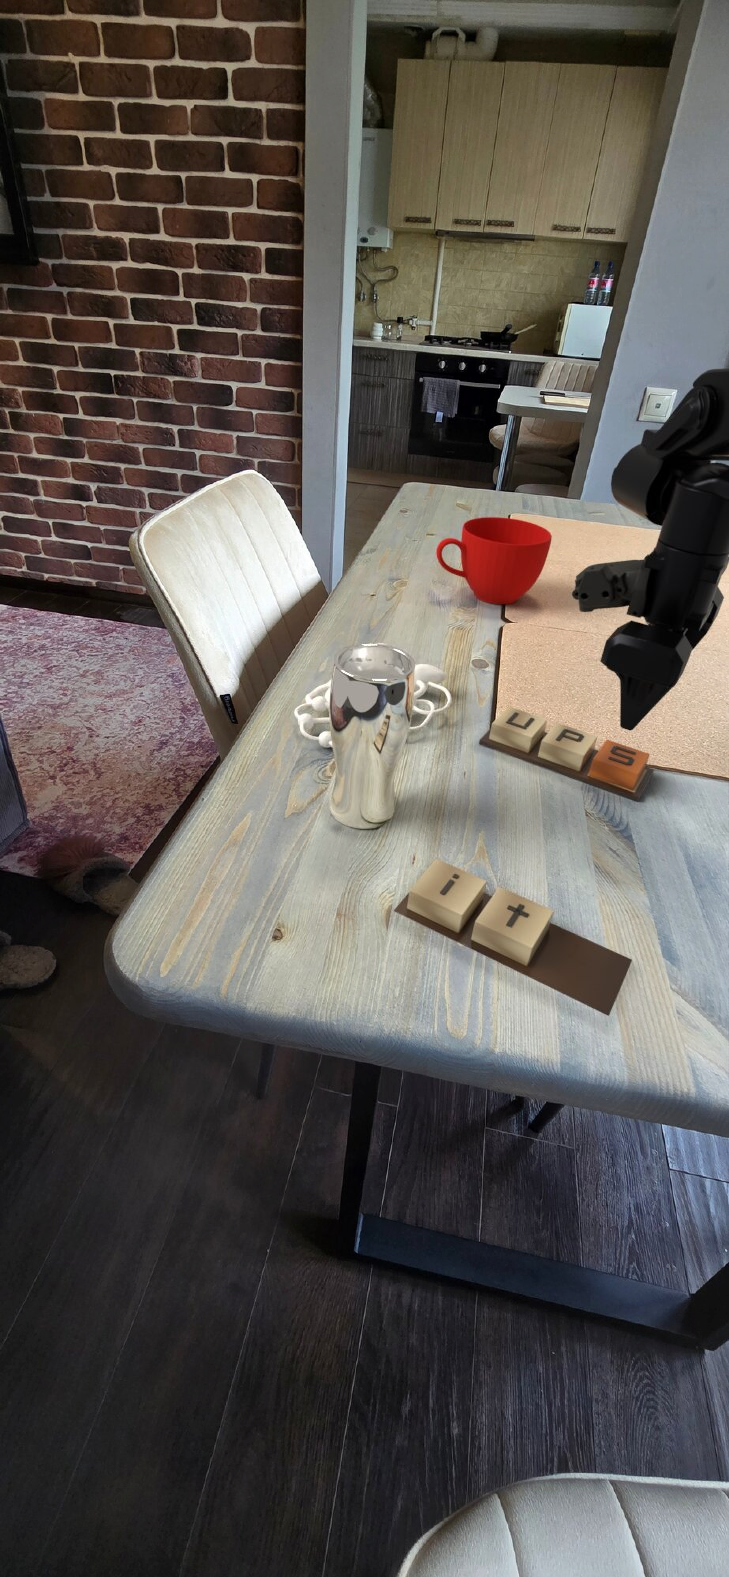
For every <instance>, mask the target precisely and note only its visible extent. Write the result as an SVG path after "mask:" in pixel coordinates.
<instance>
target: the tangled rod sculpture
mask: <svg viewBox="0 0 729 1577" xmlns="http://www.w3.org/2000/svg"><path fill="white" fill-rule="evenodd" d="M375 644H382V645H387V644H386V643H383V642H376V643H375ZM446 679H447V674H446V672H445V671H444V670H441V669H440V668H438V667H436V666H434V665H432V664H428V663H420V664H419V663H418V664H416V663H415V674H414V701H413V711H412V715H413V714H414V713H417V714H420V715H424V716H426V717H425V719H424V721H423V722H422V723H421V724H419V725H417V726H410V728H409V732H418V731H421V730H423V729H424V728H425V727H426V726H427V725H428V724H429V722H430V721H431V719H432V718H433V716H434V715H438V714H442V713H444V712H447V711H448V709H449V708H450V707H451V705H452V700H453V699H452V695H451V693H450V691H449V690H448V689H447V687H445V686H443V685H440V684H442V683H443V682H445V680H446ZM331 681H332V678H331V679H330V680H329V681H327V683H324V684H321V685H319V686H317V687H315V688H314V689H313V690H312V691H311V692H308V693H307V694H306V695H305V699H304V700H305V703H302V704H300V705H299V706H297V707H295V709H294V712H293V713H294V717H295V718H296V719H297V724H298V727H299V731H300V733H301V735H302V736H303V737H304V738H306V739H309V740H311V741H315V742H318V744H319V745H320V746H321V747H322V748H324V749H325V748H326V749H329V748H332V749H333V747H332V740H331V733H330V730H329V731H328V730H325V731H322V732H320V734H319V736H314V735H311V734H309V733H307V732H306V731H305V730H310V729H312V728H313V727H314V725H315V724H330V722H329V716H328V717H313V715H312V714H310V713H308V712H306V713H305V712H304V713H301V714H299V712H300V711H302V710H303V709H305V708H307V707H312V708H313V710H314V711H316V712H318V713H321V712H322V713H323V712H324V711H326V710H327V711H328V712H329V701H330V689H331ZM430 687H431V688H434V689H437V690H440V691H442V692H443V693H444V694H445V696H446V697H447V702H446V704H445V705H444V706H443V707H440V708H437V709H436V707H435V704H434V703H433V702H432V701H430V700H428V699H419V698H420V697H422V696H424V694H426V691H427V689H428V688H430ZM322 692H325V694H324V696H323V695H320V694H321V693H322ZM421 704H423V705H427V706H428V707H430V710H425V709H421V708H419V707H417V706H418V705H421Z"/></svg>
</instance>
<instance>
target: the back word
mask: <svg viewBox="0 0 729 1577" xmlns="http://www.w3.org/2000/svg"><path fill="white" fill-rule="evenodd" d="M547 723H548V719H547V718H545V717H542V716H538V715H536V714H532V713H530V712H527V711H523V710H521V709H519V708H515V707H513V706H507V707H506V708H505V709H504V710H503V712H501V713H500V715H498V717H497V718H496V719H494V721H493V722H492V723H491V727H490V728H489V730H487V732H485V734H484V735H483V736H481V738H480V739H479V740H478V744H479V745H482V746H484V747H487V748H490V749H493V750H495V751H498V752H501V753H503V754H505V755H509V756H512V757H514V758H516V759H519V760H522V761H526V762H528V763H531V764H533V765H536V766H539V767H541V768H544V769H547V770H550V771H552V772H555V773H558V774H561V775H564V776H565V777H566V776H567V777H568V778H572V779H574V780H577V781H579V782H583V783H585V784H588V785H590V786H594V787H595V788H599V789H602V790H604V791H607V792H610V793H612V794H614V795H617V796H621V797H623V798H625V799H629V800H631V801H633V802H637V803H638V802H639V800H640V798H641V796H642V795H643V793H644V791H645V790H646V787H647V785H648V784H649V782H650V780H651V778H652V777H653V775H654V772H655V769H653V768H650V767H648V766H646V767H645V770H644V771H643V773H642V775H641V777H640V779H639V780H638V782H637V784H636V786H635V787H634V789H633V790H630V789H627V788H624V787H621V786H619V785H616V784H613V783H610V782H608V781H605V780H602V779H599V778H597V777H594V776H591V775H589V771H590V768H591V764H592V761H593V758H594V757H595V755H596V754H597V753H598V751H599V750H598V749H596V748H595V747H596V744H597V741H598V736H597V735H595V734H592V733H588V732H586V731H583V730H580V729H578V728H574V727H571V726H568V725H565V724H562V723H559V722H556V723H555V724H554V725H553V727H551V729H550V730H549V731H548V732H547V731H546V728H547Z"/></svg>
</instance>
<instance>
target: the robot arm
mask: <svg viewBox="0 0 729 1577" xmlns="http://www.w3.org/2000/svg"><path fill="white" fill-rule="evenodd" d="M675 407H676V408H674V410H673V411H672V412H671V414H670V415H669V417H668V418H666V420H665V422H664V423H663V425H662V426H661V427H660V428H659V429H653V428H652V429H649V428H648V429H647V428H646V429H645V430H644V431H643V435H642V438H641V442H640V443H639V444H637V445H635V446H633V447H631V448H630V449H629V450H628V451H627V452H626V453H624V455H623V456H622V457H621V458H620V460H619V461H618V463H617V465H616V466H615V467H614V468H613V471H612V474H611V479H610V488H611V494H612V496H613V499H614V500H615V501H616V502H617V503H618V504H619V505H621V506H623V508H626V509H627V510H629V511H631V512H632V513H635V514H636V515H638V516H639V517H641V518H643V519H645V520H647V521H648V522H650V523H651V524H653V525H656V526H660V527H661V528H660V531H659V535H658V538H657V542H656V544H655V547H654V548H653V550H652V551H651V552H650V553H648V554H646V555H645V557H644V558H643V559H629V560H628V559H627V560H620V561H619V560H618V561H609V562H602V563H595V564H591V565H589V566H586V567H585V568H583V570H582V571H580V572H579V573H578V574H577V575H576V576H575V579H574V584H575V585H574V586H575V587H574V590H572V592H571V597H572V598H573V599H574V600H576V601H578V608H579V609H578V610H579V612H581V613H591V612H593V611H594V610H603V609H615V608H624V607H627V610H626V615H627V616H631V617H633V618H634V617H635V618H639V619H641V618H644V621H645V623H642V622H639V621H635V620H630V621H627V622H626V623H624V624H622V625H620V626H618V627H617V628H616V629H615V630H614V631H613V632H612V634H610V636H609V637H608V638H607V639H606V640H605V642H604V647H603V650H602V654H601V656H600V657H601V658H600V663H601V664H603V665H604V666H606V669H607V670H609V671H611V672H613V673H614V674H615V675H616V676H617V678H618V679H619V689H620V692H619V693H620V694H619V695H620V696H619V698H620V701H619V703H620V704H619V706H620V710H619V711H620V714H619V715H620V716H619V726H620V728H622V729H624V730H626V731H630V732H631V731H633V730H634V729H635V728H636V727H637V726H638V725H639V724H640V723H641V722H642V721H643V719H644V718H645V717H646V716H647V715H648V714H649V713H650V712H651V711H652V710H653V708H655V707H656V705H658V703H660V701H661V700H662V699H663V698H664V697H665V696H666V695H667V694H668V693H669V692H670V691H671V690H672V689H673V688H675V686H676V685H677V684H678V682H679V680H680V679H681V677H682V675H683V674H684V671H685V669H686V666H687V664H688V662H689V659H690V657H691V654H692V652H693V650H694V649H695V648H696V647H697V646H698V645H699V643H700V642H701V641H702V640H703V639H704V637H705V636H706V635H707V634H708V633H709V631H710V629H711V627H712V626H713V624H714V622H715V621H716V619H717V617H718V615H719V613H720V610H721V607H722V605H723V603H724V602H723V601H724V599H725V596H724V595H723V593H722V591H721V589H720V587H719V584H720V581H721V579H722V576H723V575H724V573H725V572H726V571H727V569H728V566H729V465H728V464H726V463H723V462H729V367H727V368H712V369H707V370H706V371H704V372H703V373H701V374H699V376H698V377H697V378H696V379H695V380H694V381H693V382H692V388H690V390H689V391H688V392H687V393H686V394H685V395H684V397H683V398H682V399H681V401H680V402H679V404H677V406H675ZM711 461H712V462H711ZM713 461H714V462H713ZM715 461H716V462H715ZM717 461H718V462H717Z"/></svg>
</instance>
